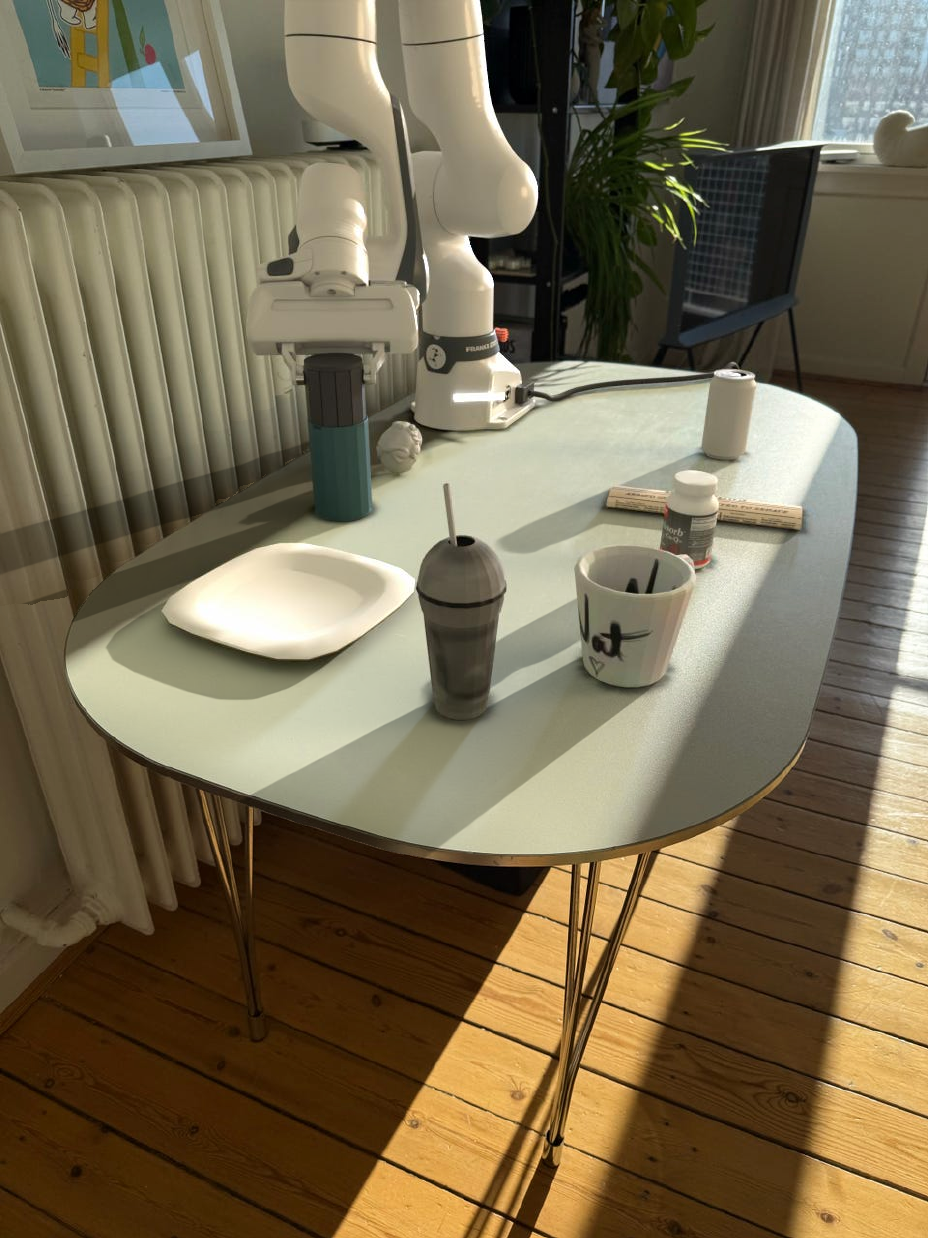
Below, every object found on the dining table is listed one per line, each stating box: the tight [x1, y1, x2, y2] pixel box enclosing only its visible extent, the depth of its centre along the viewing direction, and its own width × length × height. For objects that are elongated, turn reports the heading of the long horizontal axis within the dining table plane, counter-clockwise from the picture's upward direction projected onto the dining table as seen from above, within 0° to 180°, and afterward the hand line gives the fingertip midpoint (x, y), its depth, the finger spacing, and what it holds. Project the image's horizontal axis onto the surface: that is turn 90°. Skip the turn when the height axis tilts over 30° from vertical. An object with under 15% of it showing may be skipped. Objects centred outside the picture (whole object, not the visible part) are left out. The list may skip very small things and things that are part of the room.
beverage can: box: [700, 368, 757, 461], centre depth 130 cm, size 6×6×12 cm
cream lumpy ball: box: [375, 420, 423, 475], centre depth 125 cm, size 6×7×7 cm
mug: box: [573, 544, 697, 688], centre depth 82 cm, size 10×15×10 cm
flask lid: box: [303, 353, 367, 427], centre depth 107 cm, size 7×7×7 cm
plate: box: [161, 542, 416, 662], centre depth 92 cm, size 22×22×2 cm
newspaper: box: [605, 484, 803, 531], centre depth 114 cm, size 24×7×2 cm, turn 73°
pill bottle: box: [659, 469, 719, 570], centre depth 100 cm, size 6×6×10 cm
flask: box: [307, 414, 373, 523], centre depth 110 cm, size 7×7×16 cm
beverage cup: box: [415, 482, 508, 721], centre depth 72 cm, size 7×7×20 cm
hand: (333, 382), depth 105 cm, fingers closed on flask lid, 7 cm apart
